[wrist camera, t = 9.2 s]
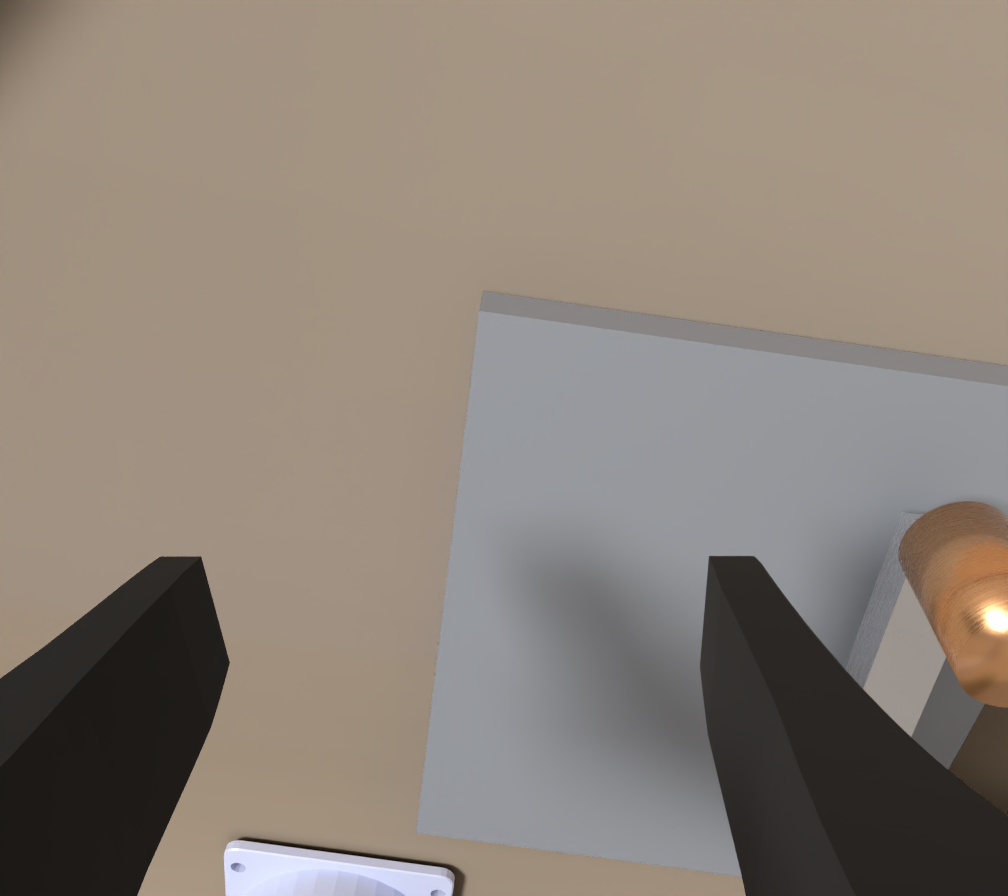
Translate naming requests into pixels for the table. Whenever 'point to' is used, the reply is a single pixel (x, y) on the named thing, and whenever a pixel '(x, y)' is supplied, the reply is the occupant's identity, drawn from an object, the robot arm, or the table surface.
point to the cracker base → (666, 555)
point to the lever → (937, 611)
